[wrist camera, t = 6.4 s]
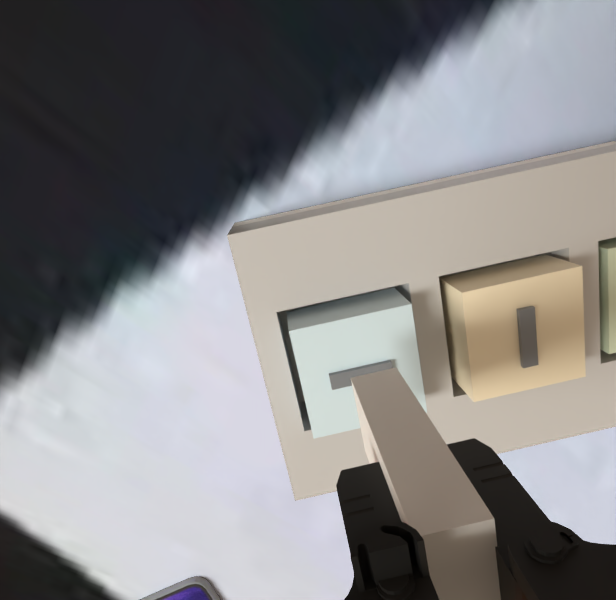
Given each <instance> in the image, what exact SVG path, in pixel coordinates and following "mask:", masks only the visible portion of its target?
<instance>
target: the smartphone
mask: <svg viewBox="0 0 616 600" xmlns="http://www.w3.org/2000/svg"><path fill="white" fill-rule="evenodd" d="M140 600H221V599H220V598H219V596H218V595H217V593H216V592H215V590H214V589H213V587H212V586H211V584H210V583H209V582H208V581H207V580H206V579H205V578H203V577H198V576H195V577H191V578H188V579H186V580H183V581H181V582H179V583H176V584H174V585H172V586H170V587H167V588H165V589H163V590H160V591H158V592H156V593H153V594H151V595H149V596H147V597H144V598H142V599H140Z"/></svg>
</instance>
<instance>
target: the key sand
mask: <svg viewBox="0 0 616 600" xmlns="http://www.w3.org/2000/svg"><path fill="white" fill-rule="evenodd" d="M439 284H440V292H441V300H442V308H443V316H444V324H445V332H446V340H447V348H448V356H449V364H450V372H451V377H452V378H453V379H454V380H455V381H456V382H457V384H458V385H459V386H460V387H461V388H462V389H463V390H464V392H465V393H466V394H467V395H468V396H469V397H470V398H471V399H472V401H473V402H477V401H481V400H486V399H490V398H494V397H499V396H503V395H508V394H512V393H516V392H521V391H525V390H529V389H534V388H538V387H543V386H547V385H551V384H556V383H560V382H564V381H569V380H573V379H578V378H582V377H586V369H585V336H584V303H583V270H582V266H581V265H578V264H575V263H571V262H568V261H565V260H562V259H558V258H555V257H552V256H549V255H545V254H544V255H539V256H535V257H530V258H526V259H521V260H517V261H512V262H508V263H503V264H499V265H494V266H490V267H485V268H481V269H476V270H472V271H467V272H462V273H458V274H453V275H449V276H444V277H440V278H439Z"/></svg>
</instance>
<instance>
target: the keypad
mask: <svg viewBox="0 0 616 600" xmlns="http://www.w3.org/2000/svg"><path fill="white" fill-rule="evenodd" d="M227 236H228V240H229V244H230V248H231V252H232V256H233V260H234V264H235V268H236V271H237V275H238V279H239V283H240V287H241V291H242V295H243V299H244V303H245V307H246V310H247V314H248V318H249V322H250V326H251V330H252V334H253V338H254V342H255V346H256V349H257V353H258V357H259V361H260V365H261V369H262V373H263V377H264V381H265V385H266V388H267V392H268V396H269V400H270V404H271V408H272V412H273V416H274V420H275V424H276V427H277V431H278V435H279V439H280V443H281V447H282V451H283V455H284V459H285V463H286V466H287V470H288V474H289V478H290V482H291V486H292V490H293V494H294V498H295V501H296V500H300V499H305V498H309V497H313V496H318V495H322V494H326V493H331V492H335V491H337V487H336V484H337V481H338V478H339V475H340V472H341V470H345V469H349V468H353V467H358V466H362V465H366V464H369V461H368V458H367V455H366V452H365V448H364V443H363V438H362V433H361V428H359V429H354V430H350V431H345V432H341V433H337V434H332V435H328V436H324V437H319V438H315V439H314V438H313V434H312V430H311V425H310V421H309V417H308V412H307V408H306V404H305V399H304V395H303V391H302V386H301V382H300V378H299V373H298V369H297V365H296V360H295V356H294V352H293V347H292V343H291V339H290V334H289V329H288V321H287V314H286V311H291V310H295V309H300V308H304V307H309V306H313V305H318V304H322V303H327V302H331V301H336V300H340V299H345V298H350V297H354V296H359V295H363V294H368V293H372V292H377V291H381V290H386V289H390V288H395V289H396V290H397V291H398V292H399V293H400V294H402V295H403V296H404V297H405V298H406V299H407V300H408V301H409V302H410V303H411V304H412V311H413V318H414V324H415V331H416V338H417V345H418V352H419V359H420V366H421V373H422V380H423V386H424V393H425V400H426V407H427V413H426V414H427V415H428V417H429V418H430V420H431V421H432V423H433V424H434V426H435V428H436V429H437V431H438V432H439V434H440V435H441V437H442V438H443V440H444V441H445V443H446V445H447V444H451V443H455V442H459V441H464V440H468V439H472V438H475V439H477V440H479V441H480V442H482V443H484V444H486V445H487V446H489V447H491V448H492V449H493V450H494V452H495V453H496V454H499V453H503V452H508V451H512V450H516V449H521V448H525V447H529V446H534V445H538V444H542V443H547V442H551V441H555V440H560V439H564V438H568V437H573V436H577V435H581V434H586V433H590V432H594V431H599V430H603V429H607V428H612V427H616V353H612V354H608V353H606V352H604V351H603V350H601V349H600V307H599V256H598V241H601V240H605V239H610V238H615V237H616V141H612V142H607V143H602V144H598V145H593V146H588V147H584V148H579V149H575V150H570V151H565V152H561V153H556V154H551V155H547V156H542V157H538V158H533V159H528V160H524V161H519V162H514V163H510V164H505V165H500V166H496V167H491V168H487V169H482V170H477V171H473V172H468V173H463V174H459V175H454V176H450V177H445V178H440V179H436V180H431V181H426V182H422V183H417V184H413V185H408V186H403V187H399V188H394V189H389V190H385V191H380V192H376V193H371V194H366V195H362V196H357V197H352V198H348V199H343V200H339V201H334V202H329V203H325V204H320V205H315V206H311V207H306V208H302V209H297V210H292V211H288V212H283V213H278V214H274V215H269V216H265V217H260V218H255V219H251V220H246V221H241V222H237V223H234V225H233V227H232V228H231V230H230V232H229V233H228V235H227ZM544 254H545V255H549V256H552V257H555V258H558V259H562V260H565V261H568V262H571V263H575V264H578V265H581V266H582V270H583V303H584V336H585V369H586V377H582V378H578V379H573V380H569V381H564V382H560V383H556V384H551V385H547V386H543V387H538V388H534V389H529V390H525V391H521V392H516V393H512V394H508V395H503V396H499V397H494V398H490V399H486V400H481V401H477V402H473V401H472V399H471V398H470V397H469V396H468V395H467V394H466V393H465V392H464V390H463V389H462V388H461V387H460V386H459V385H458V384H457V382H456V381H455V380H454V379H453V378H452V377H451V372H450V364H449V356H448V348H447V340H446V332H445V324H444V316H443V308H442V300H441V292H440V284H439V278H440V277H444V276H449V275H453V274H458V273H462V272H467V271H472V270H476V269H481V268H485V267H490V266H494V265H499V264H503V263H508V262H512V261H517V260H521V259H526V258H530V257H535V256H539V255H544Z"/></svg>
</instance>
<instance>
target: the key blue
mask: <svg viewBox="0 0 616 600" xmlns="http://www.w3.org/2000/svg"><path fill="white" fill-rule="evenodd" d="M286 314H287V321H288V329H289V334H290V339H291V343H292V347H293V352H294V356H295V360H296V365H297V369H298V373H299V378H300V382H301V386H302V391H303V395H304V399H305V404H306V408H307V412H308V417H309V421H310V425H311V430H312V434H313V438H314V439H315V438H319V437H324V436H328V435H332V434H337V433H341V432H345V431H350V430H354V429H359V428H360V423H359V418H358V412H357V407H356V402H355V397H354V392H353V387H352V382H351V378H353V377H357V376H361V375H366V374H370V373H375V372H379V371H383V370H388V369H392V368H397V369H398V370H399V372H400V373H401V375H402V377H403V378H404V380H405V381H406V383H407V384H408V386H409V387H410V389H411V390H412V392H413V394H414V395H415V397H416V398H417V400H418V401H419V403H420V404H421V406H422V407H423V409H424V411H425V412H426V413H427V407H426V400H425V393H424V386H423V380H422V373H421V366H420V359H419V352H418V345H417V338H416V331H415V324H414V318H413V311H412V304H411V303H410V302H409V301H408V300H407V299H406V298H405V297H404V296H403V295H402V294H400V293H399V292H398V291H397V290H396V289H395V288H390V289H386V290H381V291H377V292H372V293H368V294H363V295H359V296H354V297H350V298H345V299H340V300H336V301H331V302H327V303H322V304H318V305H313V306H309V307H304V308H300V309H295V310H291V311H286Z"/></svg>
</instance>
